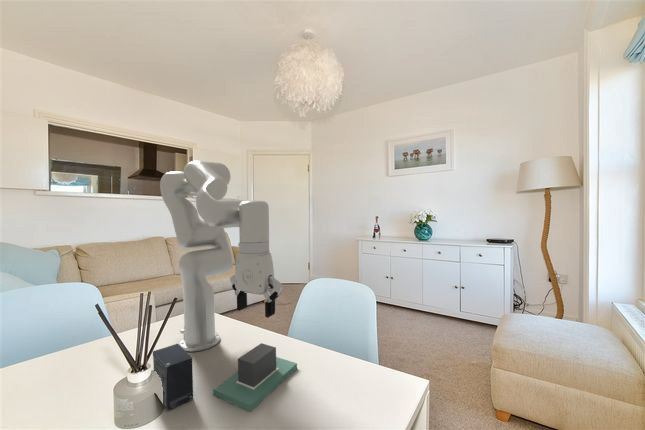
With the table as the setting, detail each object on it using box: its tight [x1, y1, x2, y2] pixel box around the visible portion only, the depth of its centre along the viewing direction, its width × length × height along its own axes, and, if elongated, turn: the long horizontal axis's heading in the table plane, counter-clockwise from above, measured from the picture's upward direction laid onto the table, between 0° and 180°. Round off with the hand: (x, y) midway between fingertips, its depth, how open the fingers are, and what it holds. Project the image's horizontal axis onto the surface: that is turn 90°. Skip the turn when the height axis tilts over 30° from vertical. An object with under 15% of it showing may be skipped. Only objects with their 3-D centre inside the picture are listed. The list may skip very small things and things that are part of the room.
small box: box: [152, 343, 194, 412], centre depth 70 cm, size 11×6×10 cm, turn 45°
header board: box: [212, 356, 298, 412], centre depth 76 cm, size 12×19×2 cm, turn 151°
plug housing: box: [237, 342, 277, 387], centre depth 76 cm, size 5×9×6 cm, turn 151°
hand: (255, 312), depth 75 cm, fingers open, 9 cm apart
